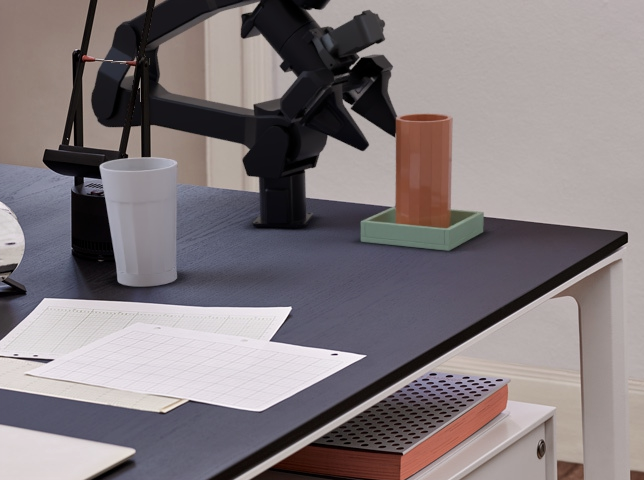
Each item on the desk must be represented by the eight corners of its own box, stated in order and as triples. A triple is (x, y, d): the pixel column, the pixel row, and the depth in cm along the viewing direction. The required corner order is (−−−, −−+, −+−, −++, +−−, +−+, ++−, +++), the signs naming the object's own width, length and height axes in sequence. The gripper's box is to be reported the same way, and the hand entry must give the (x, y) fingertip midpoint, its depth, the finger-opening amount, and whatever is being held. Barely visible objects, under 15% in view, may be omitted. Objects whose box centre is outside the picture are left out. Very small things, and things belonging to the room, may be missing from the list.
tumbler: (386, 229, 160) (386, 116, 155) (434, 223, 163) (435, 111, 157) (410, 240, 155) (411, 123, 150) (459, 234, 157) (462, 119, 152)
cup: (148, 265, 149) (139, 154, 144) (200, 276, 145) (193, 162, 140) (94, 281, 144) (83, 166, 139) (146, 292, 139) (137, 174, 134)
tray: (360, 241, 158) (360, 221, 157) (398, 224, 166) (398, 204, 165) (449, 251, 153) (449, 229, 152) (483, 232, 161) (484, 211, 160)
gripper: (300, -8, 145) (393, 104, 145) (377, -18, 160) (461, 83, 159) (241, 67, 152) (330, 173, 151) (320, 50, 167) (401, 147, 166)
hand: (384, 142), depth 157 cm, fingers open, 9 cm apart
